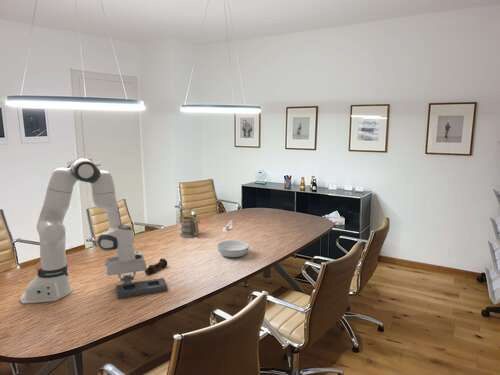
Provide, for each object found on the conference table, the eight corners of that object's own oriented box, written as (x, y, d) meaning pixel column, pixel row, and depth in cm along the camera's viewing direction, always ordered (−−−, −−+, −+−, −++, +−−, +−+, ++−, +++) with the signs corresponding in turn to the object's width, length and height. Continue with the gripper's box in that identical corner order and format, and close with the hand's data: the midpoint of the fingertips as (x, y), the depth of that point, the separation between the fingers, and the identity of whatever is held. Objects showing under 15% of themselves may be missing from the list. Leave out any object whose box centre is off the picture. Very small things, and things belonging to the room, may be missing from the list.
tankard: (177, 235, 286) (177, 216, 283) (191, 232, 294) (190, 214, 292) (192, 241, 271) (191, 221, 269) (206, 237, 280) (205, 218, 277)
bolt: (145, 277, 210) (163, 268, 223) (151, 275, 207) (169, 265, 220) (141, 268, 210) (159, 259, 223) (146, 265, 208) (164, 256, 221)
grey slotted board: (117, 299, 180) (117, 293, 179) (116, 290, 189) (116, 285, 188) (167, 290, 189) (167, 285, 188) (163, 283, 198) (163, 277, 197)
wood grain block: (123, 285, 195) (123, 276, 194) (123, 282, 199) (122, 273, 198) (131, 284, 197) (131, 275, 196) (130, 281, 200) (130, 272, 200)
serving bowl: (223, 262, 229) (223, 252, 227) (213, 252, 247) (213, 242, 246) (254, 257, 237) (254, 247, 236) (241, 248, 256) (241, 238, 255)
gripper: (105, 260, 188) (106, 285, 191) (146, 255, 196) (147, 279, 199) (104, 256, 194) (106, 281, 196) (144, 251, 202) (145, 275, 204)
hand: (127, 280), depth 198 cm, fingers closed on wood grain block, 4 cm apart
